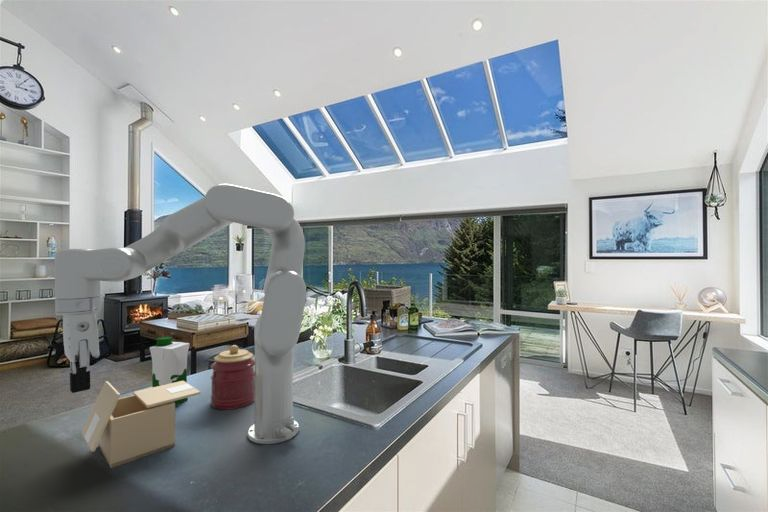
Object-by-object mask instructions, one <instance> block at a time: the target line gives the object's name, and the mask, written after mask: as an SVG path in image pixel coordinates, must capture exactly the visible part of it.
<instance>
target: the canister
mask: <svg viewBox="0 0 768 512" xmlns="http://www.w3.org/2000/svg"><path fill="white" fill-rule="evenodd" d="M253 357H254V353H252V352H250V351H249V350H247V349H242V348H241V349H240V348H239V345H236V344H233V345H231V346H230V347H229V350H224V351H221V352H219V354H218V355H216V356H214V358H213V360H214V362H213V363H212V364H211V365H210V368H211V369H212V374H211V377H210V379H211V393H210V394H211V396H210V402H211V407H213V408H215V409H219V410H233V409H234V410H235V409H239V408H243V407H244V408H245V406H248V405H251V404H252V403H253V402H255V358H253Z"/></svg>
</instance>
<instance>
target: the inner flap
mask: <svg viewBox="0 0 768 512" xmlns="http://www.w3.org/2000/svg"><path fill="white" fill-rule="evenodd" d="M201 393H202V392H201V390H199V389H197V388H196V387H194V386H193V385H191V384H189V383H188V382H187V383H186V382H185V381H179V382H174V383H170V384H166V385H161V386H157V387H152V386H151V387H149V388H144V389H139V390H135V391H133V393H132V394H133V395H135V396H136V397H137V398H138V399H139V400H140V401H141V402H142V403H143V404H144V405H145V406H146V407H147V408H149V407H153V406H157V405H161V404H164V403H168V402H172V401H176V400H180V399H184V398H188V399H189V398H191V397H195V396H199V395H201Z"/></svg>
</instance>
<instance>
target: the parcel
mask: <svg viewBox="0 0 768 512" xmlns="http://www.w3.org/2000/svg"><path fill="white" fill-rule="evenodd" d="M175 442H176V406H175V403H174V402H173V401H172V402H168V403H164V404H161V405H157V406H153V407H149V408H147V407H146V406H145V405H144V404H143V403H142V402H141V401H140V400H139V399H138V398H137V397H136V396H135V395H134V394H133V395H129V396H125V397H119V399H118V401H117V403H116V406H115V408H114V410H113V412H112V414H111V417H110V419H109V421H108V423H107V425H106V428H105V430H104V432H103V434H102V436H101V439H100V441H99V443H98V448H99V449H100V451H101V453H102V455H103V456H104V458H105V460H106V462H107V464H108V465H109V467H110V468H111V469H113V468H115V467H119V466H121V465H124V464H128V463H130V462H133V461H136V460H139V459H142V458H145V457H148V456H151V455H153V454H156V453H159V452H162V451H166V450H167V449H171V448H173V447H175V446H176V443H175Z"/></svg>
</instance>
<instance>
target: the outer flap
mask: <svg viewBox="0 0 768 512" xmlns="http://www.w3.org/2000/svg"><path fill="white" fill-rule="evenodd" d="M119 398H121V393H120V392H119V391H118V390H117V389H116V388H115V387H114V386H113V385H112V384H111V382H110V381H107V380H106V381H105V382H104V383H103V386H102V388H101V389H100V392H99V394H98V396H97V397H96V401H95V403H94V405H93V406H92V408H91V411H90V412H89V415H88V417H87V419H86V422H85V424H84V426H83V428H82V430H81V432H80V433H81V434H82V436H83V438H84V440H85V442H86V444H87V446H88V448H89V450H90V452H96V449H97V447H98V446H99V441H100V439H101V436H102V434H103V432H104V430H105V428H106V425H107V423H108V421H109V419H110V417H111V414H112V412H113V410H114V408H115V406H116V403H117V401H118V399H119Z"/></svg>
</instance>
